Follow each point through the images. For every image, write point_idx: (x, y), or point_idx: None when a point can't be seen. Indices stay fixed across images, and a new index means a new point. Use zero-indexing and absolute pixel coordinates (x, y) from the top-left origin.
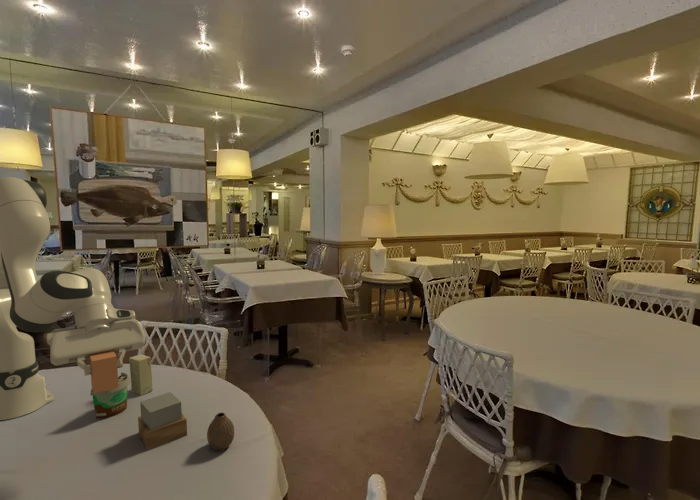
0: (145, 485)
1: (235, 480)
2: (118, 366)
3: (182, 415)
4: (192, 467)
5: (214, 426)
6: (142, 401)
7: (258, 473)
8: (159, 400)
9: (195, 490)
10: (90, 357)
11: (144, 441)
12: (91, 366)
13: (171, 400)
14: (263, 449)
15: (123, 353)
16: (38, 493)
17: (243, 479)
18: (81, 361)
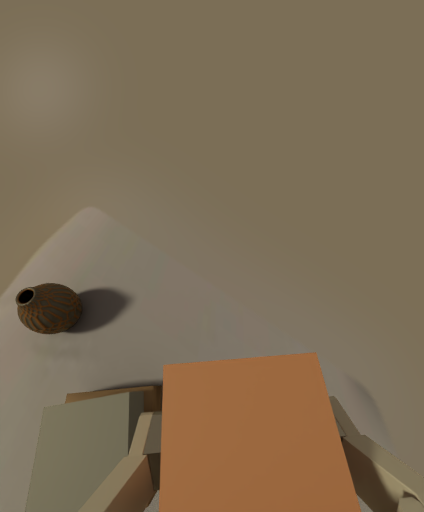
0: (186, 286)
1: (99, 236)
2: None
3: None
4: (125, 287)
5: (54, 291)
6: None
7: (73, 232)
8: (79, 468)
9: (141, 245)
10: (354, 494)
11: None
12: None
13: (56, 439)
14: (33, 269)
15: (94, 503)
16: (320, 358)
17: (92, 233)
18: (408, 481)
